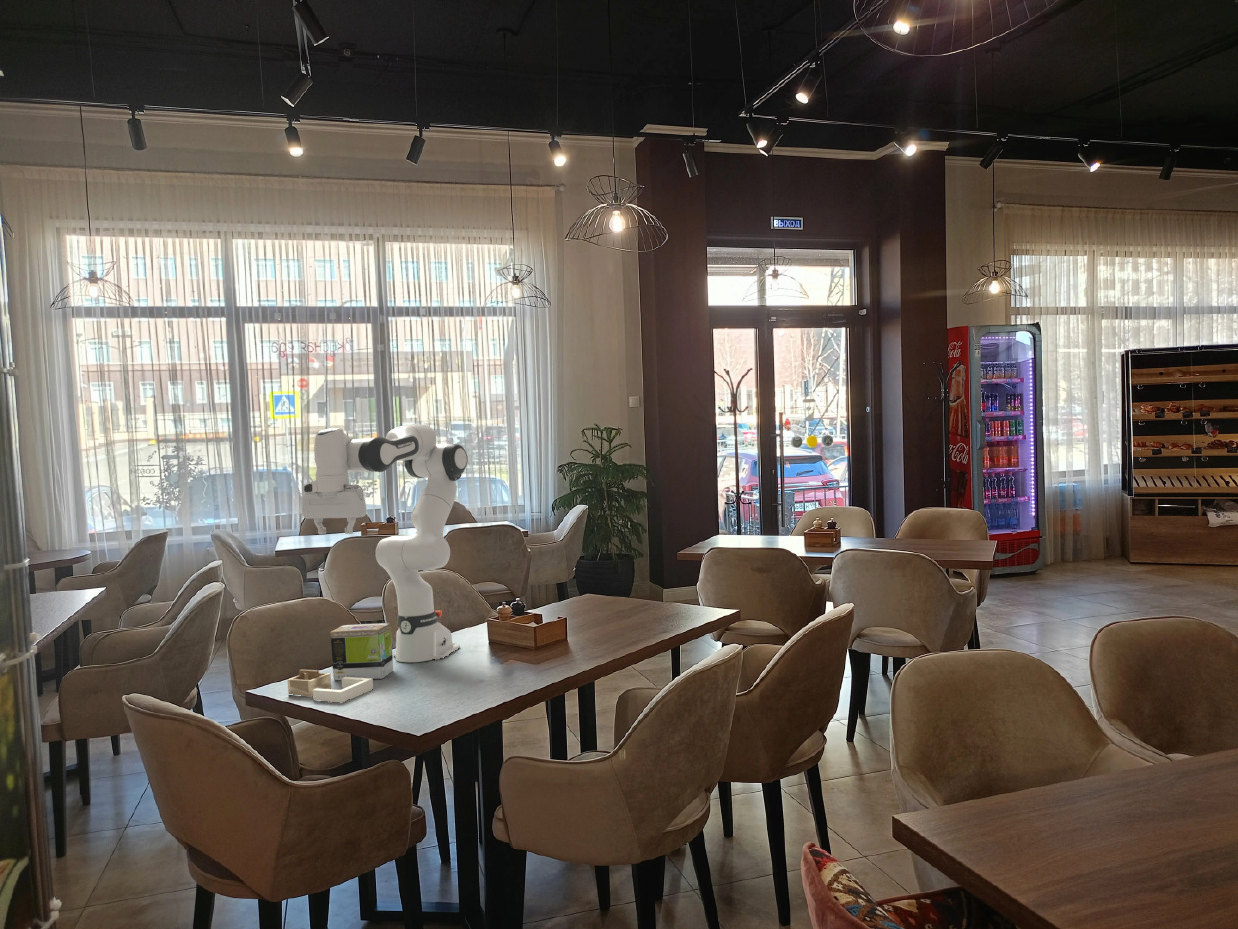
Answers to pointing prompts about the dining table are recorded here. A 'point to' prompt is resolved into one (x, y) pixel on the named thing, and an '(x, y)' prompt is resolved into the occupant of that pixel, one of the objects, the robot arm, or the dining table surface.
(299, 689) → the caddy
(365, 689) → the bay
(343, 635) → the tea box
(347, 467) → the robot arm
